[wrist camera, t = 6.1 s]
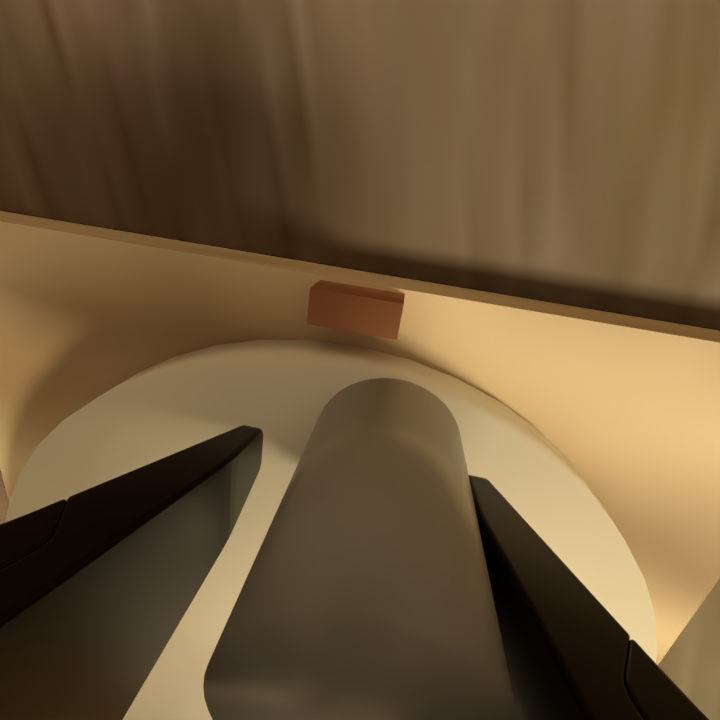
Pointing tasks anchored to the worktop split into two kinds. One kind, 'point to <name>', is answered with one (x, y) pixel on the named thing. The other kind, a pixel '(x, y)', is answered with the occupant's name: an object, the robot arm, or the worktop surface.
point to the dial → (342, 532)
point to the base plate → (391, 336)
